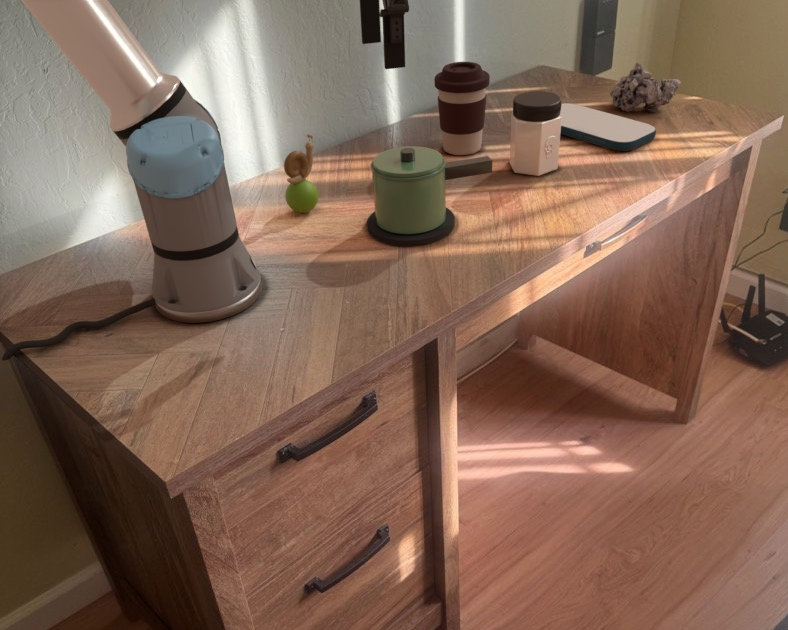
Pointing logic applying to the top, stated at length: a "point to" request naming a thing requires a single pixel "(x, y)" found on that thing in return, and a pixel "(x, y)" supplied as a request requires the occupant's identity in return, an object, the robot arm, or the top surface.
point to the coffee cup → (462, 106)
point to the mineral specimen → (643, 90)
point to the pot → (416, 187)
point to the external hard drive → (604, 128)
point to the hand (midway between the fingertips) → (382, 54)
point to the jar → (535, 132)
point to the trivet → (411, 238)
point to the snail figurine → (300, 180)
